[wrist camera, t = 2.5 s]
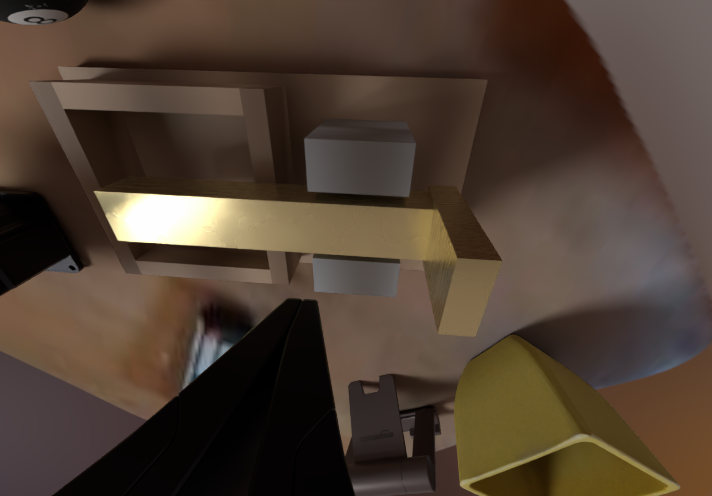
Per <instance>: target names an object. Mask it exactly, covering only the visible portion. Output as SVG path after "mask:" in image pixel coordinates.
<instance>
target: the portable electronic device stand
mask: <svg viewBox="0 0 712 496" xmlns="http://www.w3.org/2000/svg"><path fill="white" fill-rule="evenodd" d="M348 389H349V402H350V415H351V428H352V437H351V441H350V444H349V447H348V450H347V453H346V456H345V459H346V463H347V466H348V470H349V474H350V478H351V481H352V485H353V489H354V492H355V495H356V496H389V495H402V494H414V493H427V492H435V490H436V467H435V466H436V465H435V464H436V463H435V435H441V429H440V421H439V417H438V414H437V411H436V409H435V407H432V408H421V409H420V410H415V411H409V412H403V413H400V411H399V405H398V399H397V393H396V387H395V381H394V377H393V376H392V375H391V374H387V375H382V376H380V389H379V391H378V392H374V393H369V394H365V393H364V391H363V387H362V383H361V381H360V380H359V381H355V382H351V383H350V384H349V386H348ZM406 431H410V437H411V438H414V439H413V453H412V457H408V458H407V453H406V447H405V441H404V435H403V432H406Z"/></svg>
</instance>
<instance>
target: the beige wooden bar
mask: <svg viewBox="0 0 712 496" xmlns="http://www.w3.org/2000/svg"><path fill="white" fill-rule="evenodd" d="M94 193H95V195H96V197H97V199H98V201H99V203H100V205H101V207H102V209H103V211H104V213H105V215H106V217H107V219H108V221H109V223H110V225H111V227H112V229H113V231H114V233H115V235H116V237H117V240H118V241H131V242H146V243H161V244H177V245H192V246H208V247H223V248H239V249H254V250H270V251H285V252H301V253H316V254H332V255H347V256H363V257H378V258H393V259H409V260H422V261H423V266H424V271H425V275H426V280H427V285H428V290H429V295H430V299H431V304H432V309H433V314H434V319H435V323H436V328H437V333H438V334H446V335H459V336H471V337H475V335H476V333H477V330H478V327H479V325H480V322H481V319H482V316H483V314H484V311H485V308H486V305H487V303H488V300H489V297H490V294H491V292H492V289H493V286H494V283H495V281H496V278H497V275H498V272H499V270H500V267H501V264H502V259H501V258H500V256H499V254H498V253H497V251H496V250H495V248H494V246H493V245H492V243H491V242H490V240H489V238H488V237H487V235H486V234H485V232H484V230H483V229H482V227H481V226H480V224H479V222H478V221H477V219H476V218H475V216H474V214H473V213H472V211H471V210H470V208H469V207H468V205H467V203H466V202H465V200H464V199H463V197H462V195H461V194H460V192H459V191H458V189H457V187H456V186H441V185H428V190H427V191H412V190H410V194H409V197H402V196H383V195H364V194H345V193H326V192H308V187H307V185H295V184H276V183H257V182H237V181H218V180H199V179H179V178H160V177H141V176H129V177H126V178H124V179H121V180H119V181H117V182H114V183H112V184H110V185H107V186H105V187H102V188H100V189H98V190H95V191H94Z"/></svg>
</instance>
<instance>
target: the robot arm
mask: <svg viewBox="0 0 712 496" xmlns="http://www.w3.org/2000/svg"><path fill="white" fill-rule="evenodd" d="M83 268H84V267H83V265H82V263H81V261H80V260H79V258H78V256H77V255H76V253H75V251H74V250H73V248H72V246H71V245H70V243H69V241H68V240H67V238H66V236H65V235H64V233H63V231H62V230H61V228H60V226H59V225H58V223H57V221H56V220H55V218H54V216H53V215H52V213H51V211H50V210H49V208H48V206H47V205H46V203H45V201H44V200H43V198H42V197H41V196H40V195H39V194H37V193H34V192H24V191H6V190H0V296H1V295H3V294H5V293H6V292H8V291H10V290H11V289H14V288H16V287H18V286H19V285H21V284H23V283H24V282H26V281H28V280H30V279H31V278H33V277H35V276H36V275H38V274H40V273H41V272H43V271H55V272H69V273H78V272H79V271H81V270H82V269H83ZM52 496H356V495H355V492H354V489H353V485H352V481H351V478H350V474H349V470H348V466H347V463H346V459H345V455H344V450H343V445H342V441H341V436H340V431H339V425H338V419H337V413H336V411H335V402H334V396H333V390H332V384H331V379H330V373H329V367H328V361H327V355H326V349H325V343H324V337H323V331H322V325H321V319H320V313H319V307H318V302H317V300H311V299H304V300H301V299H297V298H288V299H286V300H285V301H283V302H282V303H281V304H280V305H279V306H278V307H277V308H276V309H274V310H273V311H272V312H271V313H270V314H269V315H268V316H266V317H265V318H264V319H263V320H262V321H261V322H260V323H258V324H257V325H256V326H255V327H254V328H253V329H252V330H250V331H249V332H248V333H247V334H246V335H245V336H244V337H242V338H241V339H240V340H239V341H238V342H237V343H236V344H235V345H233V346H232V347H231V348H230V349H229V350H228V351H227V352H225V353H224V354H223V355H222V356H221V357H220V358H219V359H217V360H216V361H215V362H214V363H213V364H212V365H211V366H209V367H208V368H207V369H206V370H205V371H204V372H203V373H202V374H200V375H199V376H198V377H197V378H196V379H195V380H194V381H192V382H191V383H190V384H189V385H188V386H187V387H186V388H184V389H183V390H182V391H181V392H180V393H179V397H178V396H175V397H174V398H173V399H172V400H171V401H169V402H168V403H167V404H166V405H165V406H164V407H163V408H161V409H160V410H159V411H158V412H157V413H156V414H154V415H153V416H152V417H151V418H150V419H149V420H147V421H146V422H145V423H144V424H143V425H141V426H140V427H139V428H138V429H137V430H136V431H134V432H133V433H132V434H131V435H129V436H128V437H127V438H126V439H124V440H123V441H122V442H121V443H119V444H118V445H117V446H116V447H114V448H113V449H112V450H110V451H109V452H108V453H107V454H105V455H104V456H103V457H102V458H101V459H99V460H98V461H97V462H95V463H94V464H92V465H91V466H90V467H89V468H87V469H86V470H85V471H83V472H82V473H81V474H79V475H78V476H77V477H76V478H74V479H73V480H72V481H70V482H69V483H68V484H66V485H65V486H64V487H62V488H61V489H60V490H58V491H57V492H56V493H55V494H53V495H52Z"/></svg>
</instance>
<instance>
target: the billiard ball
mask: <svg viewBox="0 0 712 496" xmlns="http://www.w3.org/2000/svg"><path fill="white" fill-rule="evenodd" d="M87 2H88V0H0V21H4V22H9V23H15V24H25V25H44V24H51V23H56V22H60V21H63V20H66V19H68V18H70V17H72V16H74V15H75V14H77V13H78V12H79V11H80V10H81V9H82V8H83V7H84V6H85V5H86V3H87Z"/></svg>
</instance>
